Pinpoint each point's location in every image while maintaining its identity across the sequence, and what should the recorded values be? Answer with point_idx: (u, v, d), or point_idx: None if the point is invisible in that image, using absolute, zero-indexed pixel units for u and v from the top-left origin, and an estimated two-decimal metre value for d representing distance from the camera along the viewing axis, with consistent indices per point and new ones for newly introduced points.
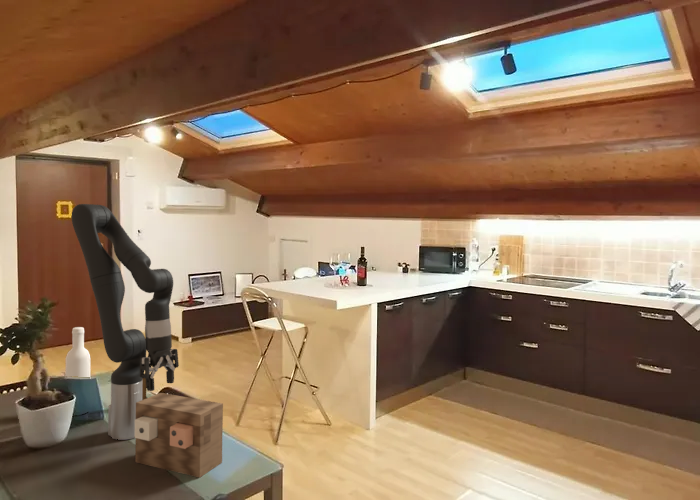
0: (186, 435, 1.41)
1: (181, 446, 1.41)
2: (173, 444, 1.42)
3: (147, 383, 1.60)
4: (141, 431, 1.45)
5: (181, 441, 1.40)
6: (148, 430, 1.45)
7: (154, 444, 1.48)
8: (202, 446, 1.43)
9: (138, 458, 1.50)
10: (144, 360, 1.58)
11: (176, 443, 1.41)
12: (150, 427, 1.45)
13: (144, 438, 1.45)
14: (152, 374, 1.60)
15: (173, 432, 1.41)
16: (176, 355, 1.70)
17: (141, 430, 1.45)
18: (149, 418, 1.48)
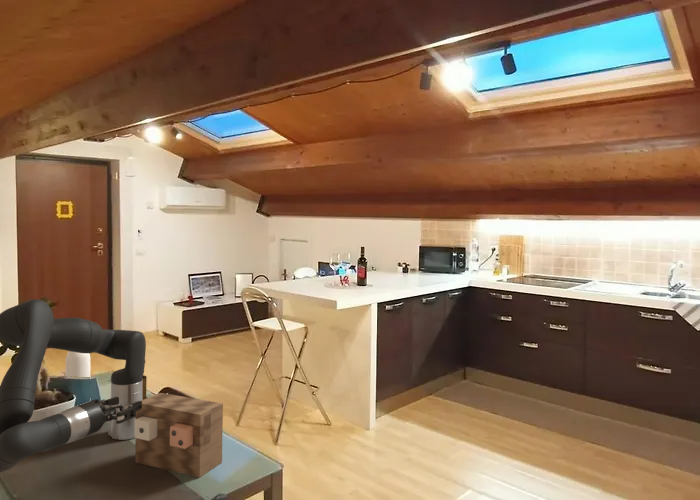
0: (186, 435, 1.41)
1: (181, 446, 1.41)
2: (173, 444, 1.42)
3: None
4: (141, 431, 1.45)
5: (181, 441, 1.40)
6: (148, 430, 1.45)
7: (154, 444, 1.48)
8: (202, 446, 1.43)
9: (138, 458, 1.50)
10: None
11: (176, 443, 1.41)
12: (150, 427, 1.45)
13: (144, 438, 1.45)
14: None
15: (173, 432, 1.41)
16: None
17: (141, 430, 1.45)
18: (149, 418, 1.48)
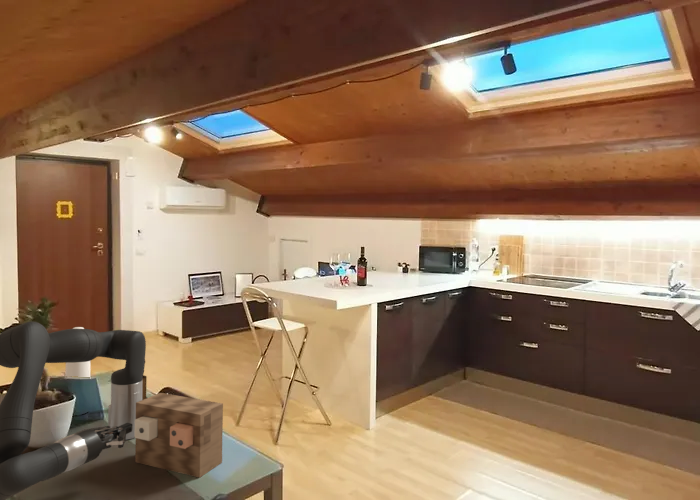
0: (186, 435, 1.41)
1: (181, 446, 1.41)
2: (173, 444, 1.42)
3: None
4: (141, 431, 1.45)
5: (181, 441, 1.40)
6: (148, 430, 1.45)
7: (154, 444, 1.48)
8: (202, 446, 1.43)
9: (138, 458, 1.50)
10: None
11: (176, 443, 1.41)
12: (150, 427, 1.45)
13: (144, 438, 1.45)
14: None
15: (173, 432, 1.41)
16: None
17: (141, 430, 1.45)
18: (149, 418, 1.48)
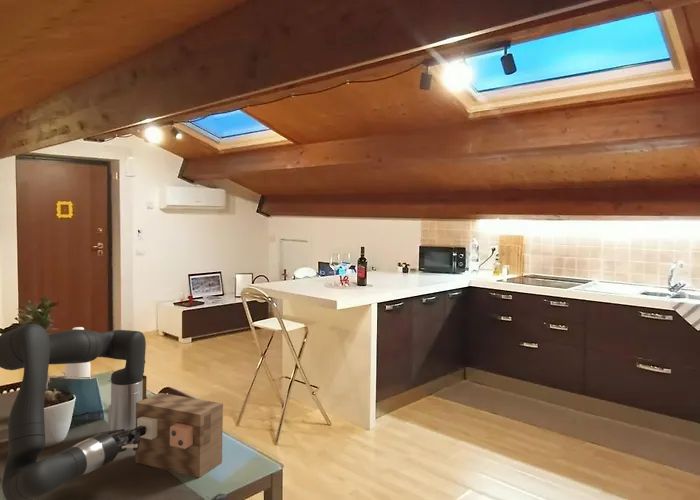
0: (186, 435, 1.41)
1: (181, 446, 1.41)
2: (173, 444, 1.42)
3: None
4: None
5: (181, 441, 1.40)
6: (151, 429, 1.46)
7: (154, 444, 1.48)
8: (202, 446, 1.43)
9: (138, 458, 1.50)
10: None
11: (176, 443, 1.41)
12: (152, 426, 1.46)
13: (147, 437, 1.46)
14: None
15: (173, 432, 1.41)
16: None
17: None
18: (151, 417, 1.49)
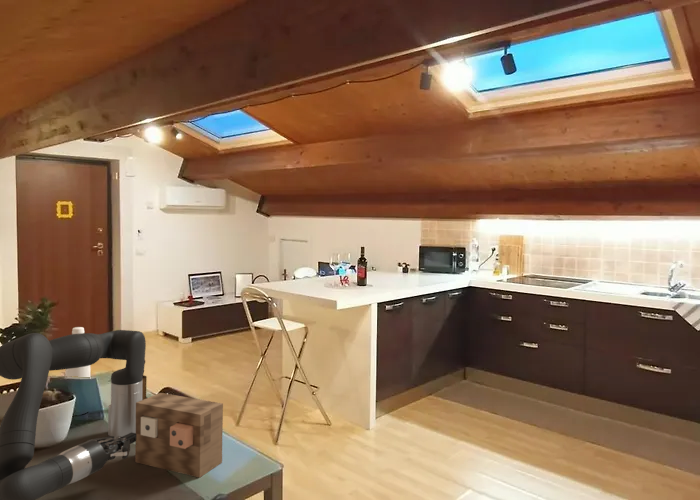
0: (186, 435, 1.41)
1: (181, 446, 1.41)
2: (173, 444, 1.42)
3: None
4: (147, 428, 1.48)
5: (181, 441, 1.40)
6: (154, 427, 1.47)
7: (154, 444, 1.48)
8: (202, 446, 1.43)
9: (138, 458, 1.50)
10: None
11: (176, 443, 1.41)
12: (156, 424, 1.47)
13: (150, 435, 1.47)
14: None
15: (173, 432, 1.41)
16: None
17: (147, 427, 1.47)
18: None
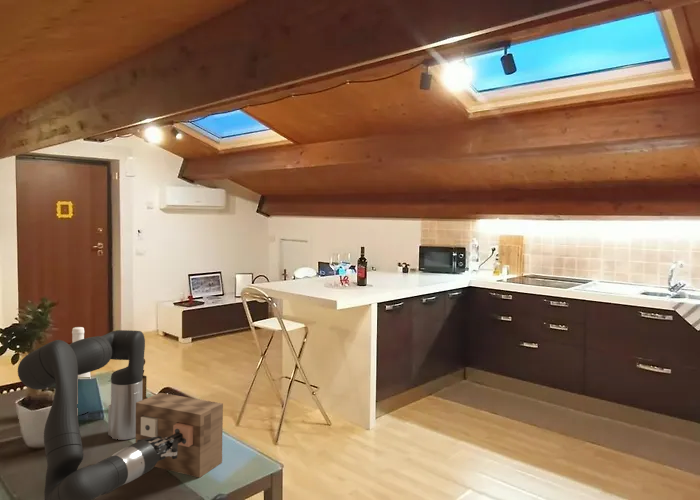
0: (189, 433, 1.42)
1: (184, 444, 1.42)
2: None
3: None
4: (147, 428, 1.48)
5: (184, 439, 1.42)
6: (154, 427, 1.47)
7: None
8: (202, 446, 1.43)
9: None
10: None
11: None
12: (156, 424, 1.47)
13: (150, 435, 1.47)
14: None
15: (176, 430, 1.43)
16: None
17: (147, 427, 1.47)
18: None
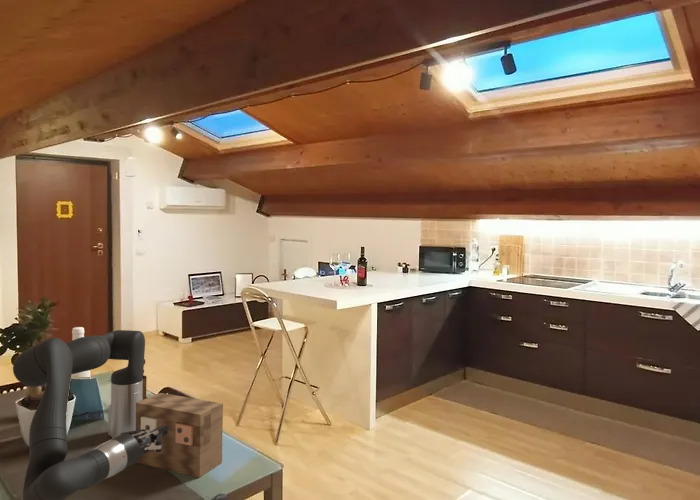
0: (192, 432, 1.43)
1: (187, 443, 1.43)
2: (179, 441, 1.44)
3: None
4: (147, 428, 1.48)
5: (187, 438, 1.43)
6: (154, 427, 1.47)
7: None
8: (202, 446, 1.43)
9: None
10: None
11: (182, 440, 1.43)
12: (156, 424, 1.47)
13: None
14: None
15: (179, 429, 1.43)
16: None
17: (147, 427, 1.47)
18: None
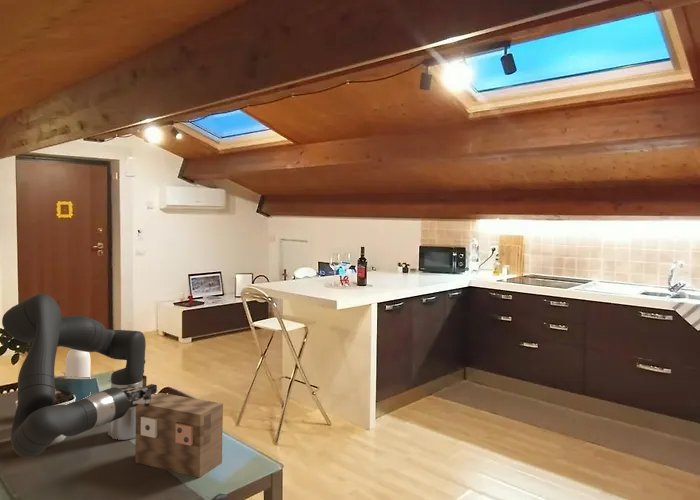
0: (192, 432, 1.43)
1: (187, 443, 1.43)
2: (179, 441, 1.44)
3: None
4: (147, 428, 1.48)
5: (187, 438, 1.43)
6: (154, 427, 1.47)
7: (154, 444, 1.48)
8: (202, 446, 1.43)
9: (138, 458, 1.50)
10: None
11: (182, 440, 1.43)
12: (156, 424, 1.47)
13: (150, 435, 1.47)
14: None
15: (179, 429, 1.43)
16: None
17: (147, 427, 1.47)
18: None
